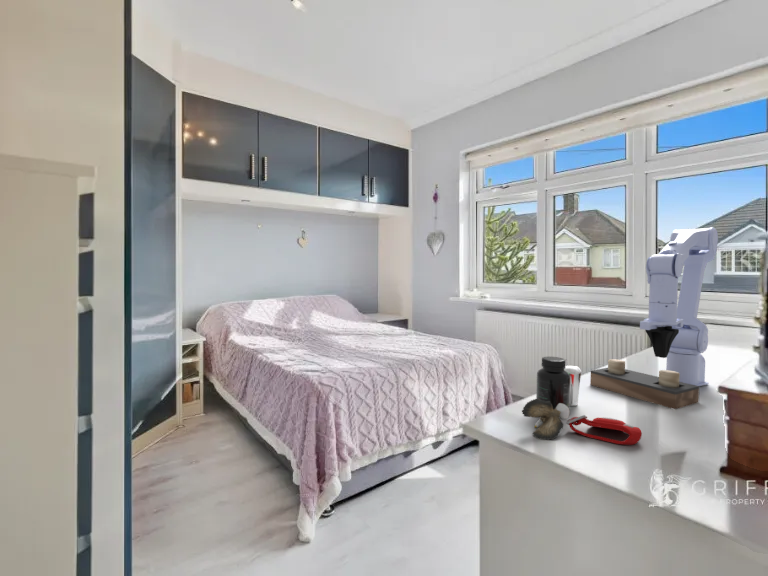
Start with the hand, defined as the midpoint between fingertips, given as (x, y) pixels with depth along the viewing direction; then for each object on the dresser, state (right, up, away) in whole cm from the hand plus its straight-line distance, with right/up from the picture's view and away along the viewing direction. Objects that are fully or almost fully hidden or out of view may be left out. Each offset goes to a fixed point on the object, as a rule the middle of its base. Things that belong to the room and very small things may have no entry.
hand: (660, 356), depth 97 cm
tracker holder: (-27, -12, -21) cm, 36 cm away
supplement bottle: (-31, -11, -10) cm, 34 cm away
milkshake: (-25, -11, -4) cm, 27 cm away
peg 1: (-6, -6, +9) cm, 12 cm away
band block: (-3, -10, +3) cm, 11 cm away
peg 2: (0, -7, -3) cm, 7 cm away
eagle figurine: (-37, -11, -20) cm, 44 cm away
